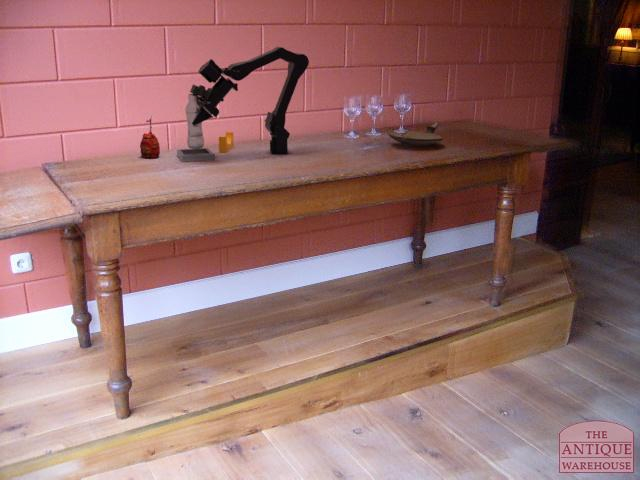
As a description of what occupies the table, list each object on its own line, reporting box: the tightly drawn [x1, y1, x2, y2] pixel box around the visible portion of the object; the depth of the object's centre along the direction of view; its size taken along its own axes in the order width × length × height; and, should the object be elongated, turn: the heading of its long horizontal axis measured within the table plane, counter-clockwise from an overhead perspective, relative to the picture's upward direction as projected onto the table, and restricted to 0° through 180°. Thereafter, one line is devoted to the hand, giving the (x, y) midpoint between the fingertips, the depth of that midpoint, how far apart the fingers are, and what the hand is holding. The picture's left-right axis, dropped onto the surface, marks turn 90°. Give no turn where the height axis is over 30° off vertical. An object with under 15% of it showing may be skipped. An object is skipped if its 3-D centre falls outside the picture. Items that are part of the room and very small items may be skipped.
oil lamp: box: [387, 122, 443, 148], centre depth 279 cm, size 22×30×8 cm
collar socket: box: [176, 147, 216, 163], centre depth 249 cm, size 12×12×2 cm
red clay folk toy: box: [139, 116, 161, 159], centre depth 248 cm, size 8×7×15 cm
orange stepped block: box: [218, 131, 235, 154], centre depth 264 cm, size 12×4×6 cm, turn 172°
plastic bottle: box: [184, 93, 205, 149], centre depth 245 cm, size 6×7×20 cm
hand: (190, 123), depth 244 cm, fingers closed on plastic bottle, 6 cm apart
